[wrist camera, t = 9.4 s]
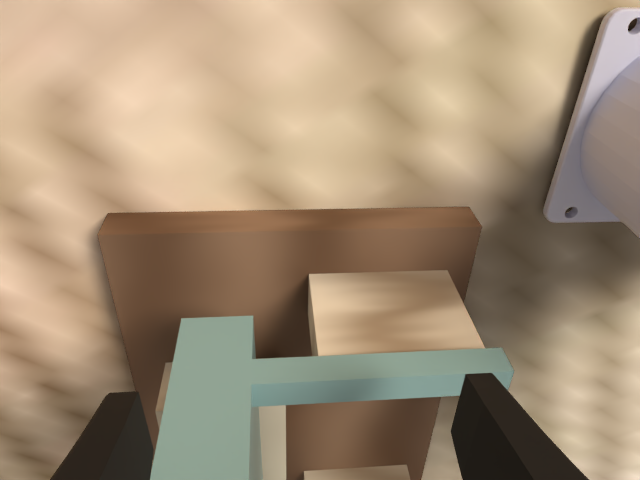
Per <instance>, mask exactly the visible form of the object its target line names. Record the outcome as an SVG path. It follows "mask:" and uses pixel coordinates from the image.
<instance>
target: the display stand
mask: <svg viewBox="0 0 640 480" xmlns="http://www.w3.org/2000/svg"><path fill="white" fill-rule="evenodd" d="M481 229H482V226H481V225H480V223H479V222H478V220H477V218H476V217H475V215H474V214H473V212H472V211H471V209H470V208H469V207H433V208H377V209H320V210H263V211H207V212H150V213H108V215H107V217H106V219H105V221H104V223H103V225H102V227H101V229H100V231H99V233H98V239H99V243H100V247H101V251H102V255H103V259H104V264H105V268H106V272H107V276H108V280H109V284H110V288H111V292H112V296H113V300H114V304H115V308H116V312H117V316H118V320H119V324H120V329H121V333H122V337H123V341H124V345H125V349H126V353H127V357H128V361H129V365H130V369H131V373H132V377H133V381H134V385H135V389H136V392H137V391H139V395H140V399H141V403H142V407H143V410H144V414H145V418H146V422H147V426H148V430H149V433H150V437H151V441H152V445H153V449H154V452H153V460H154V455H155V450H156V445H157V440H158V435H159V430H160V425H161V420H162V415H163V410H164V405H165V399H166V394H167V389H168V384H169V379H170V374H171V369H172V364H173V359H174V354H175V349H176V344H177V339H178V333H179V328H180V323H181V318H204V317H229V316H253V320H254V337H255V354H256V359H267V358H288V357H310V356H331V355H353V354H374V353H396V352H417V351H438V350H460V349H481V348H485V347H484V345H483V343H482V341H481V339H480V336H479V334H478V332H477V330H476V328H475V326H474V324H473V322H472V320H471V318H470V316H469V314H468V312H467V310H466V308H465V306H464V304H463V303H464V299H465V295H466V291H467V287H468V283H469V278H470V274H471V270H472V266H473V262H474V258H475V254H476V249H477V245H478V241H479V237H480V233H481ZM440 399H441V397H425V398H407V399H389V400H371V401H352V402H334V403H316V404H298V405H279V406H261V407H259V421H260V438H261V455H262V471H263V480H421V478H422V473H423V469H424V465H425V461H426V457H427V453H428V449H429V444H430V440H431V436H432V432H433V428H434V424H435V420H436V415H437V411H438V407H439V403H440Z"/></svg>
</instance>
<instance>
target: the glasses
mask: <svg viewBox="0 0 640 480" xmlns="http://www.w3.org/2000/svg"><path fill="white" fill-rule="evenodd" d="M476 373H493V374H494V375H495V376H496V378H497V379H498V380H499V381H500V382H501V383H502V385H503V386H504V387H505V388H506V389H507V390H508V388H509V385H510V383H511V380H512V377H513V374H514V370H513V368H512V366H511V364H510V362H509V360H508V358H507V356H506V354H505V352H504V351H503V349H502V348H481V349H460V350H438V351H417V352H396V353H374V354H353V355H331V356H310V357H288V358H267V359H256V354H255V337H254V320H253V316H229V317H204V318H181V323H180V328H179V333H178V339H177V344H176V349H175V354H174V359H173V364H172V369H171V374H170V379H169V384H168V389H167V394H166V399H165V405H164V410H163V415H162V420H161V425H160V430H159V435H158V440H157V445H156V450H155V455H154V460H153V466H152V471H151V476H150V480H263V471H262V455H261V438H260V421H259V407H261V406H279V405H298V404H316V403H334V402H352V401H371V400H389V399H407V398H425V397H444V396H460V393H461V390H462V386H463V382H464V378H465V374H476Z"/></svg>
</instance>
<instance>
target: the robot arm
mask: <svg viewBox="0 0 640 480" xmlns="http://www.w3.org/2000/svg"><path fill="white" fill-rule="evenodd" d="M635 18H637V24H636V25H635V27H634V28H633V29H632V30H631V31H629V32H628V25H629V24H630V22H631V21H632V20H633V19H635ZM570 207H573V208H572V210H571V211H569V212H568V213H565V212H566V210H567V209H569V208H570ZM543 214H544V216H545V217H546V219H547V220H548V221H550V222H552V223H577V222H622V223H623V224H625V225H626V226H627V227H628V228H629V229H630V230H631V231H632V232H633V233H634V234H635V235H637V236H638V237H639V238H640V8H638V7H619V8H615V9H613V10H611V11H609V12H608V13H607V14H606V16H605V17H604V18H603V20H602V22H601V25H600V28H599V31H598V35H597V38H596V41H595V44H594V47H593V51H592V54H591V57H590V60H589V64H588V67H587V70H586V73H585V76H584V80H583V83H582V86H581V89H580V92H579V96H578V99H577V102H576V105H575V109H574V112H573V115H572V118H571V121H570V125H569V128H568V131H567V134H566V137H565V141H564V144H563V147H562V150H561V153H560V157H559V160H558V163H557V166H556V170H555V173H554V176H553V179H552V182H551V186H550V189H549V192H548V195H547V198H546V202H545V205H544V208H543ZM451 434H452V438H453V443H454V447H455V451H456V455H457V459H458V463H459V467H460V471H461V475H462V478H463V480H589V479H588V478H587V477H586V476H585V475H584V474H583V473H582V472H581V471H580V470H579V469H578V468H577V467H576V466H575V465H574V464H573V463H572V462H571V461H570V460H569V459H568V458H567V456H566V455H565V454H564V453H563V452H562V451H561V450H560V449H559V448H558V447H557V446H556V445H555V444H554V443H553V442H552V440H551V439H550V438H549V437H548V436H547V435H546V434H545V433H544V432H543V431H542V429H541V428H540V427H539V426H538V425H537V424H536V423H535V422H534V420H533V419H532V418H531V417H530V416H529V415H528V414H527V412H526V411H525V410H524V409H523V408H522V407H521V406H520V404H519V403H518V402H517V401H516V400H515V399H514V397H513V396H512V395H511V394H510V393H509V392H508V390H507V389H506V388H505V387H504V386H503V385H502V383H501V382H500V381H499V380H498V379H497V378H496V376H495V375H494V374H493V373H476V374H465V378H464V382H463V386H462V390H461V393H460V397H459V401H458V405H457V409H456V413H455V417H454V421H453V425H452V429H451ZM153 452H154V449H153V445H152V441H151V437H150V433H149V430H148V426H147V422H146V418H145V414H144V410H143V407H142V403H141V399H140V395H139V391H137V392H119V393H109V394H108V395H107V396H106V397H105V398H104V400H103V401H102V403H101V404H100V406H99V408H98V409H97V411H96V412H95V414H94V416H93V417H92V419H91V420H90V422H89V423H88V425H87V427H86V428H85V430H84V431H83V433H82V434H81V436H80V437H79V439H78V440H77V442H76V443H75V445H74V446H73V448H72V449H71V451H70V452H69V454H68V455H67V457H66V458H65V459H64V461H63V462H62V464H61V465H60V466H59V468H58V469H57V471H56V472H55V473H54V475H53V476H52V478H51V479H50V480H150V476H151V468H152V460H153Z"/></svg>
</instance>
